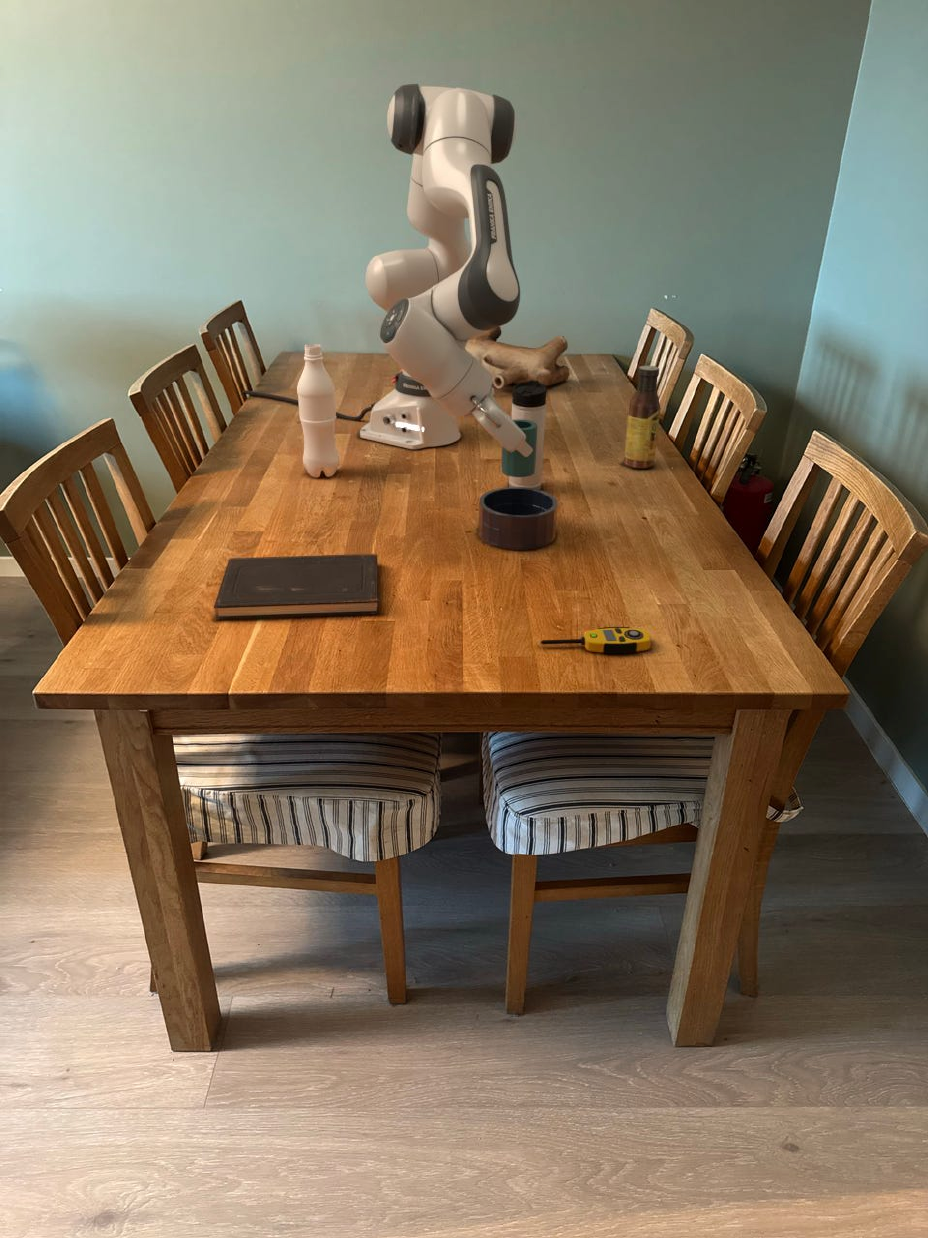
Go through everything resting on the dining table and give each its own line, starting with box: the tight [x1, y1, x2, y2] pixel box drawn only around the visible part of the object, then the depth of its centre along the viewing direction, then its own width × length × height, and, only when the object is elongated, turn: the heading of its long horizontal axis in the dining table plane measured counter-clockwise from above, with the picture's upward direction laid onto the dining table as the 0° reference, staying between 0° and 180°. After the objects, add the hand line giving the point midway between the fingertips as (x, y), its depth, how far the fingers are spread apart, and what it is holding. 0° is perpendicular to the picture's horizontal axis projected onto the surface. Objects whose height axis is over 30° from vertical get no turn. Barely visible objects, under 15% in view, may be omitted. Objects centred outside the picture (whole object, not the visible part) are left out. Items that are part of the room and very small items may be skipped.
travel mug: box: [508, 380, 548, 490], centre depth 165 cm, size 6×7×20 cm
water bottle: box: [296, 343, 340, 479], centre depth 169 cm, size 7×7×25 cm
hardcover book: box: [213, 553, 379, 621], centre depth 132 cm, size 16×23×2 cm
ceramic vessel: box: [465, 326, 570, 390], centre depth 232 cm, size 13×31×25 cm
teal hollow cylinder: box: [500, 419, 537, 477], centre depth 144 cm, size 6×6×8 cm
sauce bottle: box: [623, 365, 661, 470], centre depth 176 cm, size 7×6×20 cm
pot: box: [478, 486, 559, 551], centre depth 150 cm, size 13×13×6 cm
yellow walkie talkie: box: [540, 626, 652, 655], centre depth 119 cm, size 5×2×15 cm
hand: (522, 445), depth 144 cm, fingers closed on teal hollow cylinder, 5 cm apart
